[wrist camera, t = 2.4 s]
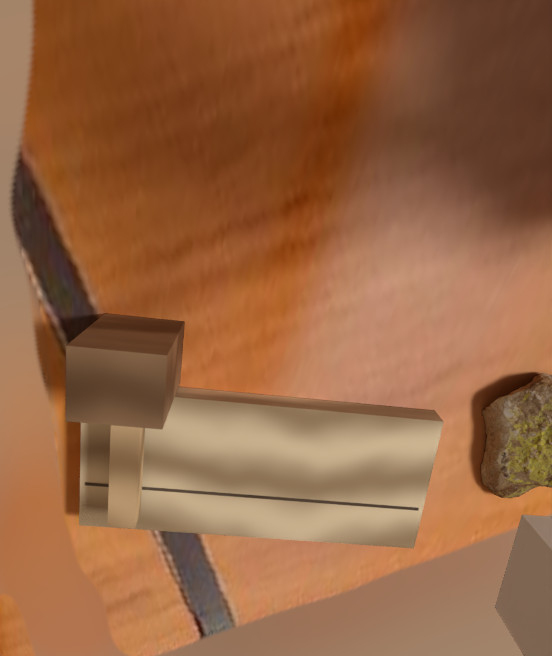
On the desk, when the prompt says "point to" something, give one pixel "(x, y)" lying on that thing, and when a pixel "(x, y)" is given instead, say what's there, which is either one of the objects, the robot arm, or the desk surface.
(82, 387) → the brown blocky t-shaped piece
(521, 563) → the robot arm
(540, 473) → the rock
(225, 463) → the board
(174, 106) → the desk surface
